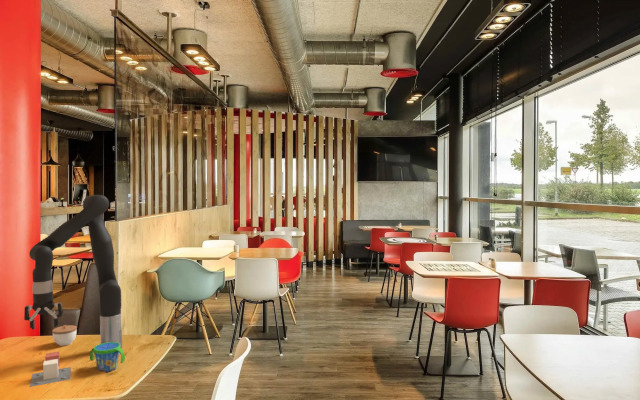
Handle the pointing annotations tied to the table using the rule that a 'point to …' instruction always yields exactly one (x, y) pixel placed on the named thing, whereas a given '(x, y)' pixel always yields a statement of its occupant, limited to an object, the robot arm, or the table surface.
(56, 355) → the red brick
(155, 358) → the table surface
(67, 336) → the lidded jar
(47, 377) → the cream brick
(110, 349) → the snack cup
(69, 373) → the base plate
